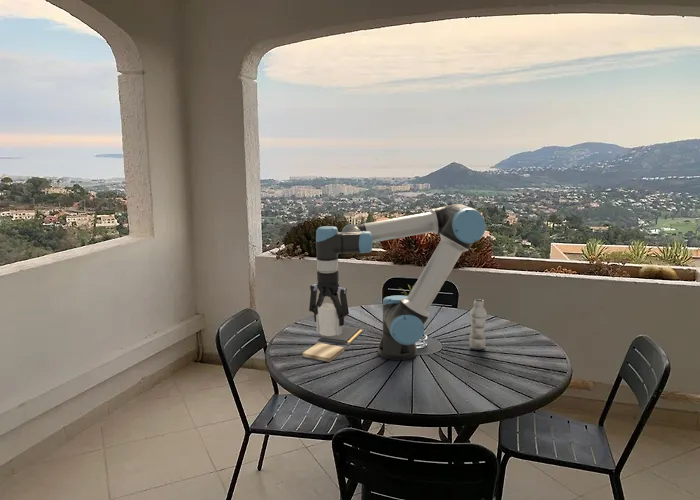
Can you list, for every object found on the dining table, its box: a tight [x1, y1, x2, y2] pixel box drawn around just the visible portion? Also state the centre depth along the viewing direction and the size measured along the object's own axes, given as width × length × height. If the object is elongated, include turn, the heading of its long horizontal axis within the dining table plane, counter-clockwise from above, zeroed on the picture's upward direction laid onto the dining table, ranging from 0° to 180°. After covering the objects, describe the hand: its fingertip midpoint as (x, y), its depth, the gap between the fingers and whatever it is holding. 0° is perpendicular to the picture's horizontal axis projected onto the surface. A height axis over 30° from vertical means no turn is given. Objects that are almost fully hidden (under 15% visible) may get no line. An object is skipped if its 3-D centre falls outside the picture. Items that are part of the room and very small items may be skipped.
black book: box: [317, 325, 366, 346], centre depth 230 cm, size 20×2×15 cm
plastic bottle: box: [468, 298, 488, 351], centre depth 212 cm, size 6×7×20 cm
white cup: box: [318, 302, 338, 336], centre depth 191 cm, size 8×8×10 cm
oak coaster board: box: [302, 342, 345, 363], centre depth 210 cm, size 12×12×2 cm
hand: (329, 332), depth 192 cm, fingers closed on white cup, 7 cm apart
